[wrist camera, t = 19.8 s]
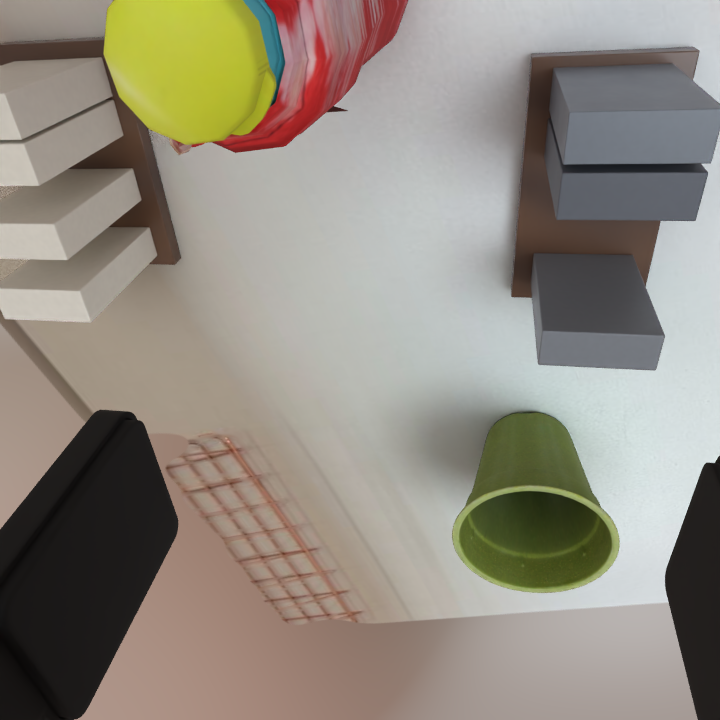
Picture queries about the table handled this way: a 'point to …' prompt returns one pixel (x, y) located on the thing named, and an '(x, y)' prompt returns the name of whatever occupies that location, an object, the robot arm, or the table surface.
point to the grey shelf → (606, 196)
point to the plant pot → (534, 511)
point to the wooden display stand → (77, 151)
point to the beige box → (64, 212)
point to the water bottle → (241, 64)
